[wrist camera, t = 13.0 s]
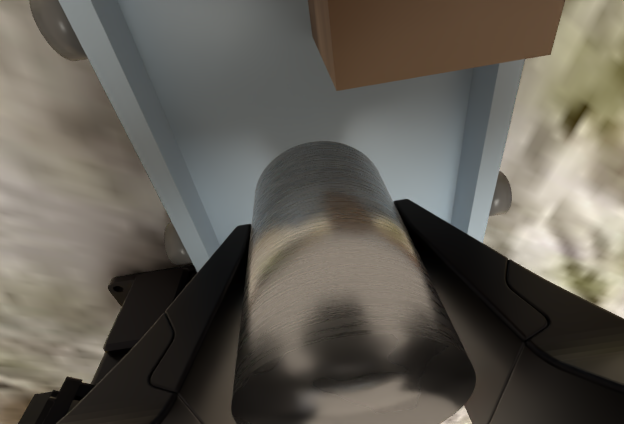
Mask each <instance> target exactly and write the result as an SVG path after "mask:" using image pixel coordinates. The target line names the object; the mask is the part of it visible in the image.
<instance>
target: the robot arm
mask: <svg viewBox="0 0 624 424" xmlns="http://www.w3.org/2000/svg"><path fill="white" fill-rule="evenodd" d="M394 204H395V206H396V208H397V210H398V212H399V215H400V217H401V219H402V221H403V223H404V225H405V227H406V229H407V231H408V233H409V235H410V237H411V239H412V241H413V243H414V246H415V248H416V250H417V252H418V254H419V256H420V258H421V260H422V262H423V264H424V266H425V268H426V270H427V272H428V274H429V277H430V279H431V281H432V283H433V285H434V287H435V289H436V291H437V293H438V295H439V297H440V299H441V301H442V303H443V305H444V308H445V310H446V312H447V314H448V316H449V318H450V320H451V322H452V324H453V326H454V328H455V330H456V332H457V334H458V336H459V339H460V341H461V343H462V345H463V347H464V349H465V351H466V353H467V355H468V357H469V359H470V361H471V363H472V365H473V368H474V370H475V373H476V384H475V388H474V391H473V393H472V395H471V396H470V398H469V399H468V401H467V402H466V403H465V404H464V406H465V408H466V410H467V413H468V415H469V417H470V419H471V422H472V424H624V319H623V318H621V317H619V316H617V315H615V314H613V313H611V312H609V311H607V310H605V309H603V308H601V307H599V306H597V305H595V304H593V303H591V302H589V301H587V300H585V299H583V298H581V297H579V296H577V295H575V294H573V293H571V292H569V291H567V290H565V289H563V288H561V287H559V286H557V285H555V284H553V283H551V282H549V281H547V280H545V279H544V278H542V277H540V276H538V275H537V274H535V273H533V272H531V271H529V270H528V269H526V268H524V267H522V266H521V265H519V264H517V263H516V262H514V261H512V260H508V258H507V257H505V256H504V255H502V254H500V253H499V252H497V251H495V250H494V249H492V248H490V247H488V246H487V245H485V244H483V243H482V242H480V241H478V240H477V239H475V238H473V237H472V236H470V235H468V234H467V233H465V232H463V231H461V230H460V229H458V228H456V227H455V226H453V225H451V224H450V223H448V222H446V221H445V220H443V219H441V218H440V217H438V216H436V215H434V214H433V213H431V212H429V211H428V210H426V209H424V208H423V207H421V206H419V205H418V204H416V203H414V202H413V201H411V200H409V199H401V200H395V201H394ZM250 233H251V224H244V225H238V226H237V227H236V228H235V229H234V230H233V231H232V232H231V234H230V235H229V236H228V237H227V238H226V239H225V241H224V242H223V243H222V244H221V245H220V247H219V248H218V249H217V250H216V251H215V252H214V254H213V255H212V256H211V257H210V258H209V260H208V261H207V262H206V263H205V264H204V266H203V267H202V268H201V269H200V270H199V271H198V272H197V270H196V269H195V267H194V265H190V266H184V267H178V268H171V269H165V270H158V271H152V272H146V273H139V274H133V275H126V276H120V277H115V278H113V279H112V280H111V282H110V284H109V286H108V289H109V291H110V292H111V294H112V295H113V296H114V297H115V299H116V300H117V301H118V303H119V304H120V305H121V306H122V308H121V310H120V312H119V314H118V316H117V318H116V320H115V323H114V325H113V327H112V329H111V331H110V333H109V335H108V338H107V340H106V342H105V344H104V347H103V349H104V351H105V353H104V356H103V358H102V360H101V362H100V364H99V367H98V369H97V371H96V373H95V375H94V378H93V380H92V382H91V384H87V383H82V380H81V379H77V378H72V377H67V378H66V380H65V382H64V383H63V385H62V387H61V389H60V391H55V390H53V392H47V393H41V394H35V395H34V397H33V399H32V400H31V402H30V404H29V406H28V407H27V409H26V411H25V412H24V414H23V416H22V418H21V419H20V421H19V423H18V424H236V422H235V420H234V418H233V416H232V411H231V404H232V394H233V385H234V376H235V367H236V359H237V350H238V341H239V332H240V323H241V314H242V305H243V296H244V287H245V278H246V269H247V260H248V251H249V242H250Z"/></svg>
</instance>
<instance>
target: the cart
mask: <svg viewBox="0 0 624 424" xmlns="http://www.w3.org/2000/svg"><path fill="white" fill-rule="evenodd" d="M29 1H30V7H31V11H32V14H33V17H34V20H35V22H36V24H37V26H38V28H39V30H40V32H41V33H42V35H43V36H44V38H45V39H46V41H47V42H48V43H49V44H50V46H51V47H52V48H53V49H54V50H55V51H56V52H57V53H58V54H60V55H61V56H62V57H64V58H66V59H68V60H71V61H78V60H84V59H89V61H90V63H91V65H92V67H93V69H94V71H95V73H96V75H97V77H98V79H99V81H100V83H101V85H102V87H103V89H104V91H105V93H106V95H107V96H108V98H109V100H110V102H111V104H112V106H113V108H114V110H115V112H116V114H117V116H118V118H119V120H120V122H121V124H122V126H123V128H124V130H125V132H126V134H127V136H128V138H129V139H130V141H131V143H132V145H133V147H134V149H135V151H136V153H137V155H138V157H139V159H140V161H141V163H142V165H143V167H144V169H145V171H146V173H147V175H148V177H149V179H150V181H151V183H152V184H153V186H154V188H155V190H156V192H157V194H158V196H159V198H160V200H161V202H162V204H163V206H164V208H165V210H166V212H167V214H168V216H169V218H170V220H171V222H170V223H169V224H168V225H167V227H166V229H165V234H164V243H165V249H166V253H167V255H168V258H169V259H170V261H171V262H172V263H173V264H174V265H181V264H187V263H193V265H194V267H195V269H196V270H197V272H198V271H199V270H200V269H201V268H202V267H203V266H204V264H205V263H206V262H207V261H208V260H209V258H210V257H211V256H212V255H213V254H214V252H215V251H216V250H217V249H218V248H219V247H220V245H221V244H222V243H223V242H224V241H225V239H226V238H227V237H228V236H229V235H230V234H231V232H232V231H233V230H234V229H235V228H236V227H237V226H238V225H244V224H251V225H252V216H253V207H254V198H255V190H256V186H257V182H258V180H259V178H260V176H261V174H262V172H263V171H264V169H265V168H266V167H267V166H268V164H269V163H270V162H271V161H272V160H274V159H275V158H276V157H277V156H278V155H280V154H281V153H283V152H284V151H286V150H288V149H290V148H292V147H295V146H298V145H300V144H304V143H309V142H316V141H331V142H338V143H342V144H345V145H348V146H351V147H353V148H355V149H357V150H359V151H360V152H362V153H363V154H364V155H366V156H367V157H368V158H369V159H370V160H371V161H372V162H373V163H374V165H375V166H376V168H377V169H378V171H379V173H380V175H381V177H382V179H383V181H384V183H385V186H386V188H387V190H388V192H389V194H390V196H391V198H392V200H393V202H394V201H395V200H401V199H409V200H411V201H413V202H414V203H416V204H418V205H419V206H421V207H423V208H424V209H426V210H428V211H429V212H431V213H433V214H434V215H436V216H438V217H440V218H441V219H443V220H445V221H446V222H448V223H450V224H451V225H453V226H455V227H456V228H458V229H460V230H461V231H463V232H465V233H467V234H468V235H470V236H472V237H473V238H475V239H477V240H478V241H480V242H482V243H483V239H484V235H485V230H486V226H487V222H488V217H489V216H494V215H500V214H505V213H506V212H507V211H508V210H509V208H510V206H511V201H512V193H511V187H510V184H509V181H508V179H507V178H506V176H505V175H504V174H503V173H502V172H500V171H499V169H500V165H501V161H502V156H503V152H504V148H505V143H506V139H507V135H508V130H509V126H510V122H511V117H512V113H513V109H514V104H515V100H516V96H517V91H518V87H519V83H520V78H521V74H522V69H523V65H524V61H525V59H522V60H516V61H510V62H504V63H498V64H492V65H486V66H481V67H475V68H469V69H463V70H457V71H451V72H445V73H440V74H434V75H428V76H422V77H416V78H410V79H404V80H399V81H393V82H387V83H381V84H375V85H369V86H363V87H358V88H352V89H346V90H340V91H336V89H335V87H334V84H333V82H332V80H331V78H330V75H329V73H328V71H327V68H326V66H325V64H324V62H323V59H322V57H321V55H320V53H319V50H318V48H317V46H316V44H315V41H314V39H313V37H312V30H311V22H310V14H309V7H308V0H29Z"/></svg>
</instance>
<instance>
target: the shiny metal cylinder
mask: <svg viewBox="0 0 624 424" xmlns="http://www.w3.org/2000/svg"><path fill="white" fill-rule="evenodd" d="M475 384H476V373H475V370H474V368H473V365H472V363H471V361H470V359H469V357H468V355H467V353H466V351H465V349H464V347H463V345H462V343H461V341H460V339H459V336H458V334H457V332H456V330H455V328H454V326H453V324H452V322H451V320H450V318H449V316H448V314H447V312H446V310H445V308H444V305H443V303H442V301H441V299H440V297H439V295H438V293H437V291H436V289H435V287H434V285H433V283H432V281H431V279H430V277H429V274H428V272H427V270H426V268H425V266H424V264H423V262H422V260H421V258H420V256H419V254H418V252H417V250H416V248H415V246H414V243H413V241H412V239H411V237H410V235H409V233H408V231H407V229H406V227H405V225H404V223H403V221H402V219H401V217H400V215H399V212H398V210H397V208H396V206H395V204H394V202H393V200H392V198H391V196H390V194H389V192H388V190H387V188H386V186H385V183H384V181H383V179H382V177H381V175H380V173H379V171H378V169H377V168H376V166H375V165H374V163H373V162H372V161H371V160H370V159H369V158H368V157H367V156H366V155H364V154H363V153H362V152H360V151H359V150H357V149H355V148H353V147H351V146H348V145H345V144H342V143H338V142H331V141H316V142H309V143H304V144H300V145H298V146H295V147H292V148H290V149H288V150H286V151H284V152H283V153H281V154H280V155H278V156H277V157H276V158H275V159H274V160H272V161H271V162H270V163H269V164H268V166H267V167H266V168H265V169H264V171H263V172H262V174H261V176H260V178H259V180H258V182H257V186H256V190H255V198H254V207H253V216H252V225H251V233H250V242H249V251H248V260H247V269H246V278H245V287H244V296H243V305H242V314H241V323H240V332H239V341H238V350H237V359H236V367H235V376H234V385H233V394H232V404H231V411H232V416H233V418H234V420H235V422H236V424H440V423H442V422H443V421H445V420H446V419H448V418H449V417H451V416H452V415H453V414H455V413H456V412H457V411H458V410H459V409H460V408H461V407H462V406H463V405H464V404H465V403H466V402H467V401H468V399H469V398H470V396H471V395H472V393H473V391H474V388H475Z"/></svg>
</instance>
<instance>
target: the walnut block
mask: <svg viewBox="0 0 624 424" xmlns="http://www.w3.org/2000/svg"><path fill="white" fill-rule="evenodd" d="M564 2H565V0H308V7H309V14H310V22H311V30H312V37H313V39H314V41H315V44H316V46H317V48H318V50H319V53H320V55H321V57H322V59H323V62H324V64H325V66H326V68H327V71H328V73H329V75H330V78H331V80H332V82H333V84H334V87H335V89H336V91H340V90H346V89H352V88H358V87H363V86H369V85H375V84H381V83H387V82H393V81H399V80H404V79H410V78H416V77H422V76H428V75H434V74H440V73H445V72H451V71H457V70H463V69H469V68H475V67H481V66H486V65H492V64H498V63H504V62H510V61H516V60H522V59H527V58H533V57H539V56H545V55H551V51H552V47H553V43H554V40H555V36H556V32H557V28H558V25H559V21H560V17H561V14H562V10H563V6H564Z"/></svg>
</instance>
